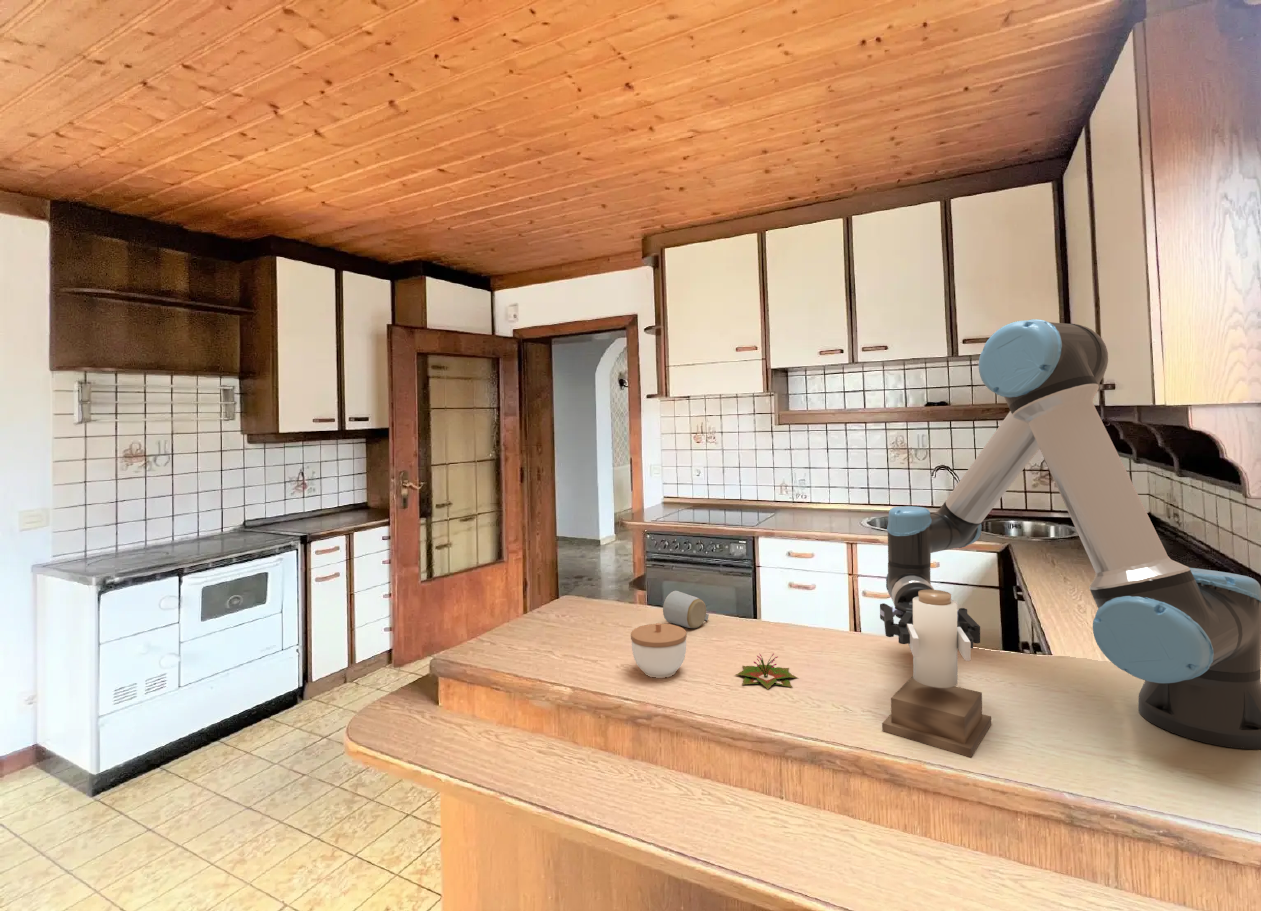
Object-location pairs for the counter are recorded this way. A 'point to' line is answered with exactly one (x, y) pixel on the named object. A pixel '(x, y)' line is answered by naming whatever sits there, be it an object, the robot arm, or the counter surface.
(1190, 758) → the counter surface
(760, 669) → the lily flower
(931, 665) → the canister
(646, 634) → the lidded jar
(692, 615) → the ceramic mug
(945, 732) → the pedestal
